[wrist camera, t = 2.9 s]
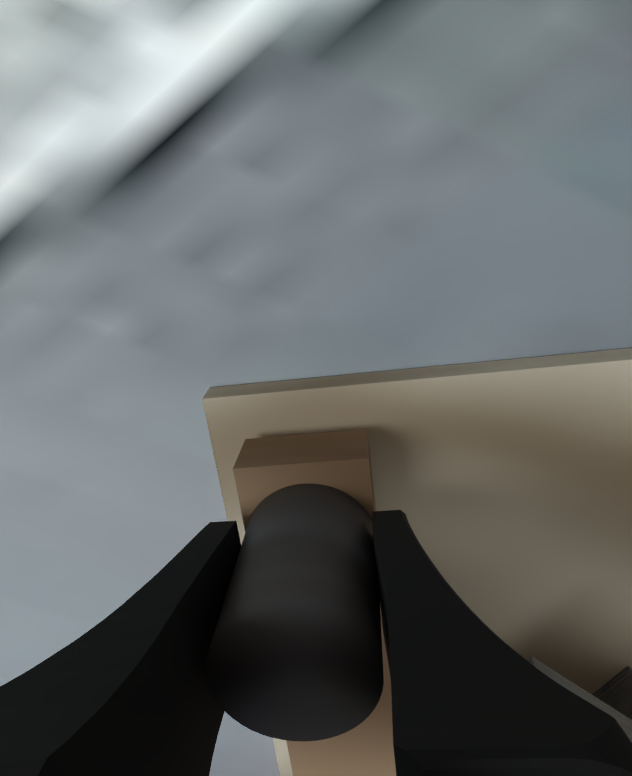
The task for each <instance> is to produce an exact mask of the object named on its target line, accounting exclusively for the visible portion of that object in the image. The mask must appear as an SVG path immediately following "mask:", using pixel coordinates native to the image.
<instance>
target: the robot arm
mask: <svg viewBox="0 0 632 776" xmlns="http://www.w3.org/2000/svg"><path fill="white" fill-rule="evenodd" d="M372 532H373V541H374V551H375V560H376V570H377V577H378V584H379V595H380V608H381V617H382V627H383V634H384V640H385V647H386V653H387V659H388V665H389V671H390V677H391V695H392V723H393V748H394V757H395V766H396V776H632V742H631V741H630V739H629V738H628V736H627V735H626V733H625V732H624V731H623V729H622V728H621V726H620V725H619V723H618V722H617V721H616V719H615V718H614V717H612V716H611V715H609V714H607V713H606V712H604V711H602V710H601V709H599V708H597V707H596V706H594V705H592V704H591V703H589V702H587V701H586V700H584V699H582V698H581V697H579V696H577V695H576V694H574V693H573V692H571V691H569V690H568V689H566V688H564V687H563V686H561V685H560V684H558V683H557V682H555V681H554V680H553V679H551V678H550V677H548V676H547V675H545V674H544V673H543V672H541V671H540V670H538V669H537V668H536V667H535V666H533V665H532V664H531V663H530V662H528V661H527V660H526V659H525V658H523V657H522V656H521V655H520V654H519V653H517V652H516V651H515V650H514V649H512V648H511V647H510V646H509V645H507V644H506V643H505V642H504V641H503V640H502V639H500V638H499V637H498V636H497V635H496V634H495V633H494V632H493V631H492V630H491V629H490V628H489V627H488V626H487V625H486V624H484V623H483V622H482V620H481V619H480V618H479V617H478V616H477V615H476V614H475V613H474V612H473V611H472V610H471V609H470V608H469V607H468V606H467V605H466V604H465V603H464V602H463V600H462V599H461V598H460V597H459V596H458V595H457V594H456V592H455V591H454V590H453V589H452V587H451V586H450V585H449V584H448V583H447V581H446V580H445V579H444V577H443V576H442V575H441V574H440V572H439V571H438V570H437V568H436V567H435V565H434V564H433V562H432V561H431V559H430V558H429V557H428V555H427V554H426V552H425V551H424V549H423V548H422V546H421V544H420V543H419V541H418V539H417V538H416V536H415V534H414V532H413V530H412V528H411V526H410V524H409V522H408V520H407V517H406V514H405V513H404V512H403V511H401V510H388V511H374V512H372ZM240 548H241V542H240V537H239V532H238V527H237V522H236V521H224V522H210V523H209V524H208V525H207V526H206V527H205V528H203V529H202V530H201V531H200V532H199V533H198V534H197V535H196V536H195V537H194V538H193V539H192V540H191V541H190V542H189V543H188V544H187V545H186V546H185V547H184V548H183V549H182V550H181V551H180V552H179V553H178V554H177V555H176V556H175V557H174V558H173V559H172V560H171V561H170V562H169V563H168V564H167V565H166V566H165V567H164V568H163V569H162V570H161V571H160V572H159V573H158V574H157V575H155V576H154V577H153V578H152V579H151V580H150V581H149V582H148V583H146V584H145V585H144V586H143V587H142V588H141V589H140V590H139V591H137V592H136V593H135V594H134V595H133V596H132V597H131V598H129V599H128V600H127V601H126V602H125V603H124V604H123V605H122V606H120V607H119V608H118V609H117V610H115V611H114V612H113V613H112V614H110V615H109V616H108V617H107V618H105V619H104V620H103V621H101V622H100V623H99V624H97V625H96V626H95V627H93V628H92V629H91V630H89V631H88V632H87V633H85V634H84V635H82V636H81V637H80V638H78V639H77V640H75V641H74V642H72V643H71V644H69V645H68V646H66V647H65V648H63V649H62V650H60V651H58V652H57V653H55V654H54V655H52V656H51V657H49V658H48V659H46V660H44V661H43V662H41V663H40V664H38V665H37V666H35V667H34V668H32V669H30V670H29V671H27V672H25V673H24V674H22V675H20V676H18V677H17V678H15V679H13V680H11V681H10V682H8V683H6V684H4V685H2V686H1V687H0V776H209V772H210V767H211V761H212V756H213V752H214V748H215V744H216V740H217V735H218V732H219V728H220V725H221V721H222V718H223V714H224V709H223V708H222V707H221V706H220V705H219V704H218V702H217V701H216V699H215V698H214V696H213V694H212V692H211V690H210V688H209V685H208V682H207V677H206V658H207V653H208V650H209V647H210V644H211V641H212V638H213V634H214V631H215V628H216V625H217V622H218V618H219V615H220V612H221V609H222V606H223V602H224V599H225V596H226V593H227V590H228V587H229V583H230V580H231V577H232V574H233V571H234V567H235V564H236V561H237V558H238V555H239V551H240Z"/></svg>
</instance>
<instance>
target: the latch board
mask: <svg viewBox="0 0 632 776" xmlns="http://www.w3.org/2000/svg"><path fill="white" fill-rule="evenodd" d="M202 400H203V405H204V410H205V415H206V419H207V424H208V429H209V434H210V439H211V443H212V448H213V453H214V458H215V463H216V468H217V472H218V477H219V482H220V487H221V492H222V496H223V501H224V506H225V511H226V516H227V520H228V521H236V522H237V527H238V532H239V537H240V542H241V545H242V542H243V539H244V536H245V529H244V524H243V518H242V513H241V508H240V503H239V498H238V493H237V488H236V483H235V478H234V473H233V467H234V465H235V462H236V460H237V457H238V455H239V453H240V450H241V448H242V446H243V443H244V441H245V439H251V438H263V437H275V436H287V435H299V434H311V433H324V432H336V431H348V430H360V429H368V439H369V449H370V458H371V468H372V478H373V488H374V498H375V508H376V511H388V510H401V511H403V512H404V513H405V514H406V517H407V520H408V522H409V524H410V526H411V528H412V530H413V532H414V534H415V536H416V538H417V539H418V541H419V543H420V544H421V546H422V548H423V549H424V551H425V552H426V554H427V555H428V557H429V558H430V559H431V561H432V562H433V564H434V565H435V567H436V568H437V570H438V571H439V572H440V574H441V575H442V576H443V577H444V579H445V580H446V581H447V583H448V584H449V585H450V586H451V587H452V589H453V590H454V591H455V592H456V594H457V595H458V596H459V597H460V598H461V599H462V600H463V602H464V603H465V604H466V605H467V606H468V607H469V608H470V609H471V610H472V611H473V612H474V613H475V614H476V615H477V616H478V617H479V618H480V619H481V620H482V622H483V623H484V624H486V625H487V626H488V627H489V628H490V629H491V630H492V631H493V632H494V633H495V634H496V635H497V636H498V637H499V638H500V639H502V640H503V641H504V642H505V643H506V644H507V645H509V646H510V647H511V648H512V649H514V650H515V651H516V652H517V653H519V654H520V655H521V656H522V657H523V658H525V659H526V660H527V659H528V658H529V657H531V656H532V657H534V658H535V659H537V660H538V661H540V662H542V663H543V664H545V665H546V666H548V667H549V668H551V669H553V670H554V671H556V672H557V673H559V674H560V675H562V676H564V677H565V678H567V679H568V680H570V681H571V682H573V683H575V684H576V685H578V686H579V687H581V688H582V689H584V690H586V691H587V692H589V693H590V694H593V693H594V692H595V691H596V690H598V689H599V688H600V687H602V686H603V685H604V684H605V683H607V682H608V681H609V680H610V679H612V678H613V677H614V676H616V675H617V674H618V673H619V672H621V671H622V670H623V669H624V668H626V667H627V666H629V667H631V668H632V348H626V349H616V350H605V351H594V352H584V353H573V354H562V355H552V356H541V357H530V358H520V359H509V360H498V361H488V362H477V363H466V364H456V365H445V366H434V367H423V368H413V369H402V370H391V371H381V372H370V373H359V374H349V375H338V376H327V377H317V378H306V379H295V380H285V381H274V382H263V383H253V384H242V385H231V386H221V387H210V388H209V390H208V391H207V393H206V394H205V396H204V397H203V399H202ZM273 742H274V747H275V751H276V756H277V761H278V766H279V771H280V775H281V776H293V772H292V767H291V762H290V757H289V752H288V747H287V742H286V740H281V739H276V738H273Z"/></svg>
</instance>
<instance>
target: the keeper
mask: <svg viewBox="0 0 632 776" xmlns="http://www.w3.org/2000/svg"><path fill="white" fill-rule="evenodd" d="M527 661H528V662H530V663H531V664H532V665H533V666H535V667H536V668H537V669H538V670H540V671H541V672H543V673H544V674H545V675H547V676H548V677H550V678H551V679H553V680H554V681H555V682H557V683H558V684H560V685H561V686H563V687H564V688H566V689H568V690H569V691H571V692H573V693H574V694H576V695H577V696H579V697H581V698H582V699H584V700H586V701H587V702H589V703H591V704H592V705H594V706H596V707H597V708H599V709H601V710H602V711H604V712H606V713H607V714H609V715H611V716H612V717H614V718H615V719H616V721H617V722H618V723H619V725H620V726H621V728H622V729H623V731H624V732H625V733H626V735H627V736H628V738H629V739H630V741H631V742H632V668H631V667H629V666H627V667H626V668H624V669H623V670H622V671H621V672H619V673H618V674H617V675H616V676H614V677H613V678H612V679H610V680H609V681H608V682H607V683H605V684H604V685H603V686H602V687H600V688H599V689H598V690H596V691H595V692H594V693H593V694H590V693H589V692H587V691H586V690H584V689H582V688H581V687H579V686H578V685H576V684H575V683H573V682H571V681H570V680H568V679H567V678H565V677H564V676H562V675H560V674H559V673H557V672H556V671H554V670H553V669H551V668H549V667H548V666H546V665H545V664H543V663H542V662H540V661H538V660H537V659H535V658H534V657H532V656H531V657H529V658H528V659H527Z"/></svg>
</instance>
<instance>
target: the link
mask: <svg viewBox="0 0 632 776" xmlns="http://www.w3.org/2000/svg"><path fill="white" fill-rule="evenodd" d="M233 473H234V478H235V483H236V488H237V493H238V498H239V503H240V508H241V513H242V518H243V524H244V529H245V536H244V539H243V542H242V545H241V548H240V551H239V555H238V558H237V561H236V564H235V567H234V571H233V574H232V577H231V580H230V583H229V587H228V590H227V593H226V596H225V599H224V602H223V606H222V609H221V612H220V615H219V618H218V622H217V625H216V628H215V631H214V634H213V638H212V641H211V644H210V647H209V650H208V653H207V658H206V677H207V682H208V685H209V688H210V690H211V692H212V694H213V696H214V698H215V699H216V701H217V702H218V704H219V705H220V706H221V707H222V708H223V709H224V711H225V712H226V713H227V714H229V715H230V716H231V717H232V718H233V719H235V720H236V721H237V722H239V723H240V724H242V725H243V726H245V727H247V728H249V729H251V730H253V731H255V732H258V733H260V734H262V735H266V736H269V737H272V738H276V739H281V740H286V742H287V747H288V752H289V757H290V762H291V767H292V772H293V776H396V766H395V757H394V748H393V723H392V695H391V677H390V671H389V665H388V659H387V653H386V647H385V640H384V634H383V627H382V617H381V608H380V595H379V584H378V577H377V570H376V560H375V551H374V541H373V532H372V512H374V511H376V508H375V498H374V488H373V478H372V468H371V458H370V449H369V439H368V429H360V430H348V431H336V432H324V433H311V434H299V435H287V436H275V437H263V438H251V439H245V441H244V443H243V446H242V448H241V450H240V453H239V455H238V457H237V460H236V462H235V465H234V467H233Z"/></svg>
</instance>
